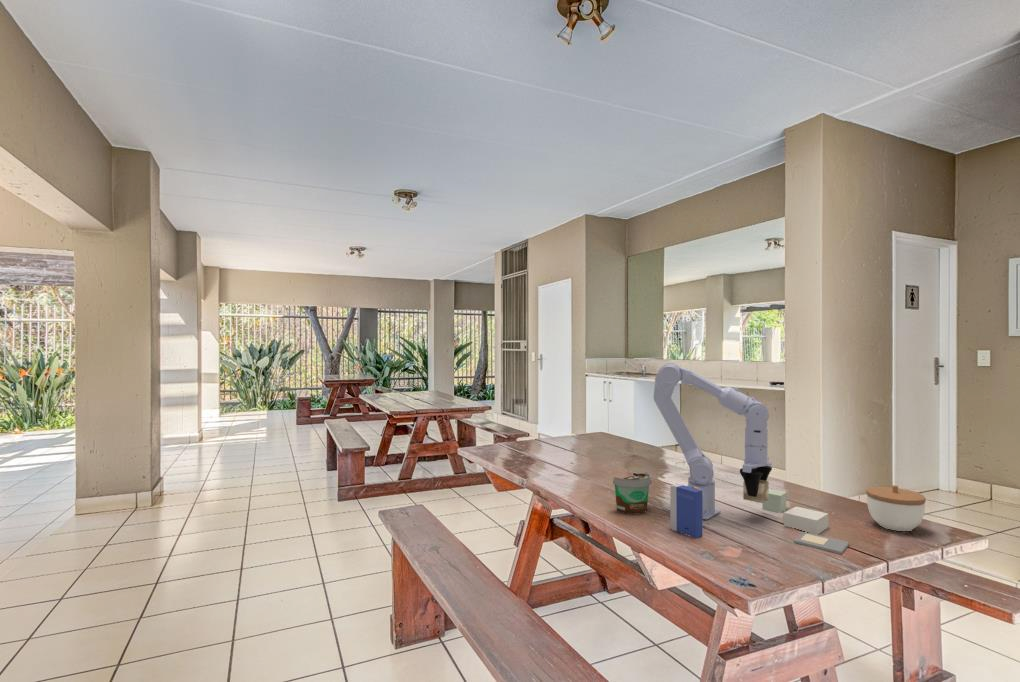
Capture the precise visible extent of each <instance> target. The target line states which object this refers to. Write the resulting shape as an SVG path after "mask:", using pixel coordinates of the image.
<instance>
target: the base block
mask: <svg viewBox="0 0 1020 682" xmlns="http://www.w3.org/2000/svg"><path fill="white" fill-rule="evenodd" d="M784 526H788V527H792V528H796V529H799V530H802V531H801V532H803V531H805V532H809V533H812V534H816V535H820V534H821V533H822V532H824V531H826V530H827V529H828V528H829V513H828V512H827V513H826V512H823V511H819V510H814V509H810V508H805V507H801V506H794V507H792V508H791V509H788V510H787V511H786V510H785V512H784V511H783V527H784ZM788 527H787V528H788ZM825 529H826V530H825ZM799 530H798V531H799Z"/></svg>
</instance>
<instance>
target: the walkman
mask: <svg viewBox="0 0 1020 682" xmlns="http://www.w3.org/2000/svg"><path fill="white" fill-rule="evenodd" d="M669 502H670V506H669V507H670V508H669V509H670V510H669V513H670V517H669V518H670V519H669V520H670V521H669V524H670V525H669V526H670V530H671V529H673V530H676V531H679V532H682V533H684V534H683V535H685V534H687V535H686V536H688V535H690V536H689V537H691V536H692V537H691V538H693V537H694V538H693V539H698V538H701V537H703V519H702V490H699V488H696V487H693V488H692V487H688V485H683V484H680V483H675V484H671V485H670V501H669ZM673 530H672V531H673ZM676 531H675V532H676ZM679 532H678V533H679ZM682 533H681V534H682Z"/></svg>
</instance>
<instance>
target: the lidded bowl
mask: <svg viewBox="0 0 1020 682" xmlns="http://www.w3.org/2000/svg"><path fill="white" fill-rule="evenodd" d="M865 491H866V504H867V508H868V512H869V514H870V516H871V517H872V519H873V521H875V522H876V523H877V524H878V526H879V525H880V526H882V527H884V528H888V529H894V530H899V531H911V532H913V530H914V529H915V528H917V527H918V526H919V525H920V524H921V523H922V521H923V519H924V517H925V511H926V510H925V509H926V508H925V507H926V497H925V495H923V494H922V493H919V492H917V491H913V490H908V489H905V488H900V487H899V485H894V484H892V485H891V486H870V487H867V488H866V490H865ZM880 526H879V527H880ZM882 527H881V528H882ZM884 528H883V529H884Z"/></svg>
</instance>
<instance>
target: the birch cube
mask: <svg viewBox="0 0 1020 682" xmlns="http://www.w3.org/2000/svg"><path fill="white" fill-rule="evenodd" d="M769 482H770V481H768V480H767V481H764V480H760V481H759V486H758V493H757V496H756V497H753V496H748V493H747V489H746V485H745V482H744V480H743V493H742V494H743V495H742V496H743V497H742V498H743V500H745V501H748V502H749V501H750V502H755V503H760V504H763V503H764V502H765V501H767V500H768V499H769V489H770V486H769V485H770V483H769Z"/></svg>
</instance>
